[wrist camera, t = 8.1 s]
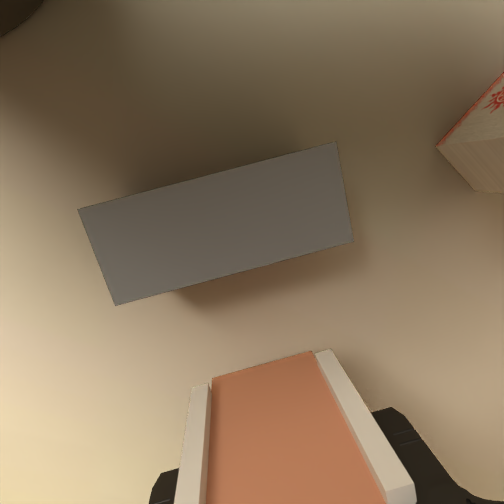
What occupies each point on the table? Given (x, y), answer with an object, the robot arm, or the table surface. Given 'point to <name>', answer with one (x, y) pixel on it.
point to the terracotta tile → (283, 440)
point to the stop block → (220, 223)
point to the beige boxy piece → (479, 142)
